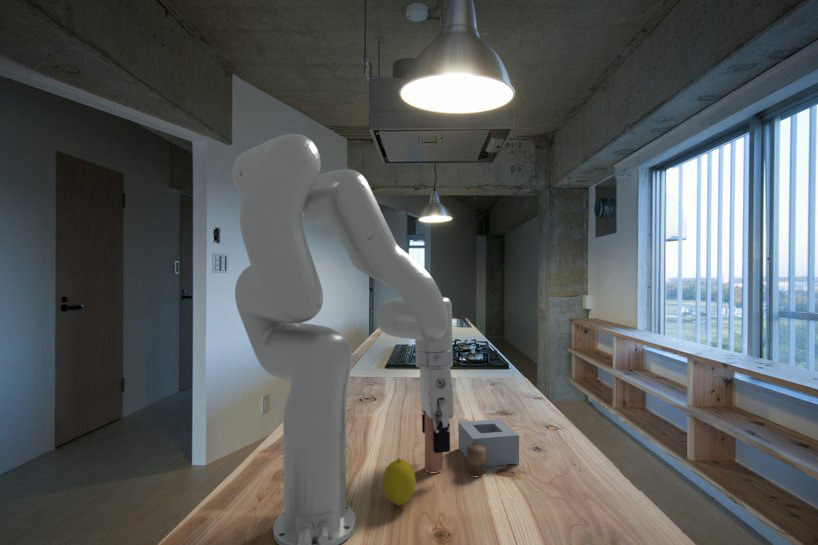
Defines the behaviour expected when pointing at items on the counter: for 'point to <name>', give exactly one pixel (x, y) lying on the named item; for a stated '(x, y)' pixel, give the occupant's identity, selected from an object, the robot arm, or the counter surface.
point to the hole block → (490, 440)
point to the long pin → (431, 448)
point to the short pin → (476, 460)
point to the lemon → (399, 482)
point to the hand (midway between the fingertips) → (435, 441)
